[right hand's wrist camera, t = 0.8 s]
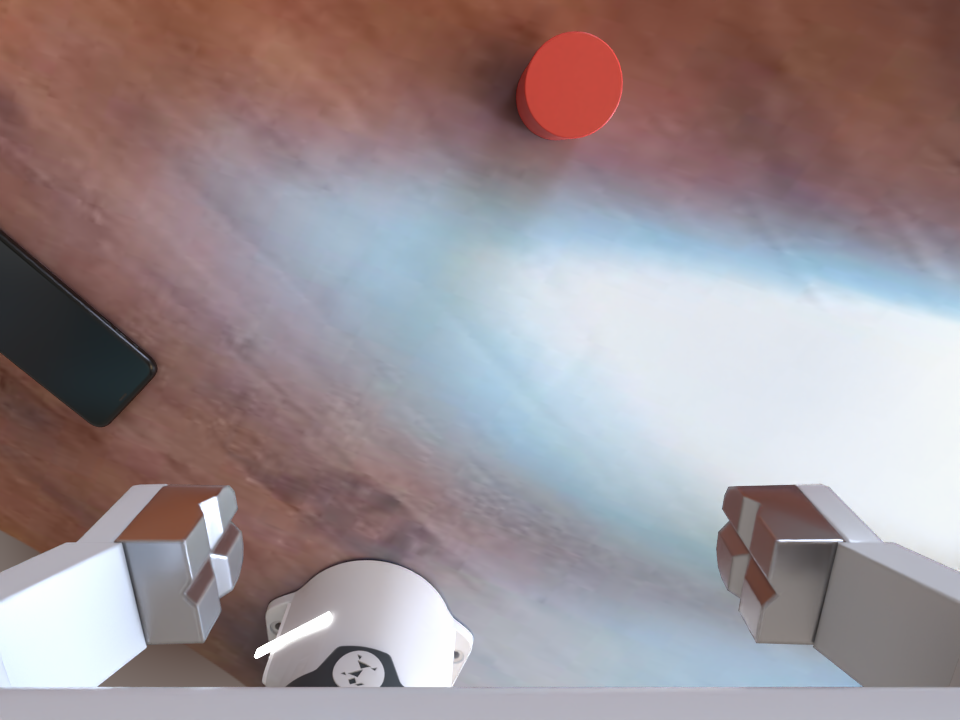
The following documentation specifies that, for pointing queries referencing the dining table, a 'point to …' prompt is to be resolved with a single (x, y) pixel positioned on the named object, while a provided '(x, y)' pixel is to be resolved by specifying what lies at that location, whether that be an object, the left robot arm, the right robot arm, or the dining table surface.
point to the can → (569, 87)
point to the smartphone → (66, 340)
